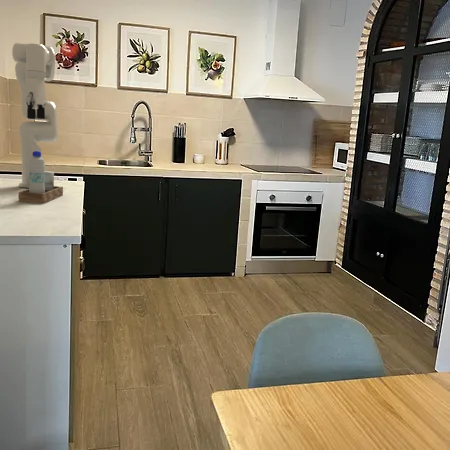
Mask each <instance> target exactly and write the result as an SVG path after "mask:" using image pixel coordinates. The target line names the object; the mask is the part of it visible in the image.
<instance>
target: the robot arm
mask: <svg viewBox="0 0 450 450" xmlns="http://www.w3.org/2000/svg"><path fill="white" fill-rule="evenodd" d="M11 55H12V59H13V60H14V62H16V63H15V67H14V71H15V76H16V80H17V83H18V86H19V88H20V92H21V112H22V116H23V118H24V119H25V120H26V119H27V120H29V121H24V122H22V123H20V125H19V126H18V127H19V137H20V143H21V182H20V183H18V187H20V188H23V189H29V186H30V171H29V166H28V165H29V159H30V158H32V157H34V156H33V152H34V151H39V152H41V158H43V149H42V148H41V146H39V145H38V143H55V142H56V141H57V140H58V137H59V135H58V133H59V129H58V111H57V106H56V104H55V102H53V101H50V100H46V84H45V83H46V82H51V81H53V79H54V77H55V69H56V52H55V50H54V49H53V47H51V46H48V45H43V44H41V43H19V42H18V43H17V42H16V43H15V42H14V44H13V45H12V50H11ZM30 120H31V121H30ZM32 120H33V121H32ZM43 121H44V122H43Z"/></svg>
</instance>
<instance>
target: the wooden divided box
mask: <svg viewBox="0 0 450 450" xmlns="http://www.w3.org/2000/svg"><path fill="white" fill-rule="evenodd" d="M44 186H45V193H30V192H29V188H25V189H23V190H21V191H18V202H19V203H32V204H33V203H35V204H47V203H49V202H51V201H54V200H55V199H58V198H60V197H63V196H64V187H63V186H58V185H57V186H56V185H55V171H49V170H45V171H44Z"/></svg>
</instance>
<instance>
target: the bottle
mask: <svg viewBox="0 0 450 450" xmlns="http://www.w3.org/2000/svg"><path fill="white" fill-rule="evenodd" d="M33 156H34V157H32V158H30V159H29V165H28V166H29V171H30V186H29V188H28V189H29V192H30V193H45V186H44V171H46V163H45V158H43V157H42V158H41V152H39V151H34V152H33Z"/></svg>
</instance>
